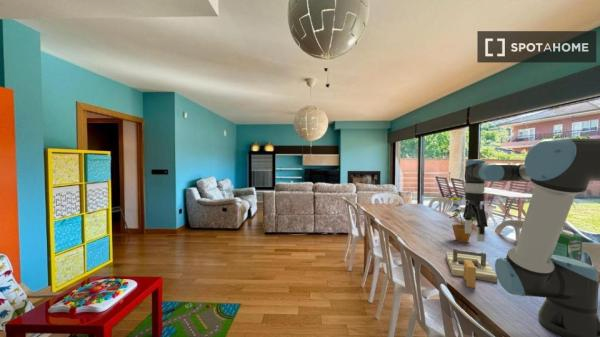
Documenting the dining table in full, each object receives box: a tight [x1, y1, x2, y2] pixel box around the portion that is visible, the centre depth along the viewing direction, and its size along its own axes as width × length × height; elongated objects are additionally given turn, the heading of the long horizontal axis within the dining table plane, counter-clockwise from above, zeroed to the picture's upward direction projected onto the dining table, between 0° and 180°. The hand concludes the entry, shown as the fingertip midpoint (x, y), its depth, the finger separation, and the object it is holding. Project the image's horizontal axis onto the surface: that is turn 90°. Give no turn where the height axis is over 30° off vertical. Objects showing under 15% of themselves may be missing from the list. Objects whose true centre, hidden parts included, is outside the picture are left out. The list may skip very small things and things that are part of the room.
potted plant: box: [448, 196, 476, 243], centre depth 176 cm, size 18×19×30 cm
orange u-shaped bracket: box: [463, 260, 477, 289], centre depth 115 cm, size 9×3×9 cm, turn 156°
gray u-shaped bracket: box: [452, 248, 487, 266], centre depth 131 cm, size 2×14×9 cm, turn 66°
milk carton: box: [552, 228, 583, 262], centre depth 114 cm, size 9×9×25 cm
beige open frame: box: [445, 252, 498, 283], centre depth 131 cm, size 25×18×3 cm
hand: (474, 237), depth 119 cm, fingers open, 13 cm apart
